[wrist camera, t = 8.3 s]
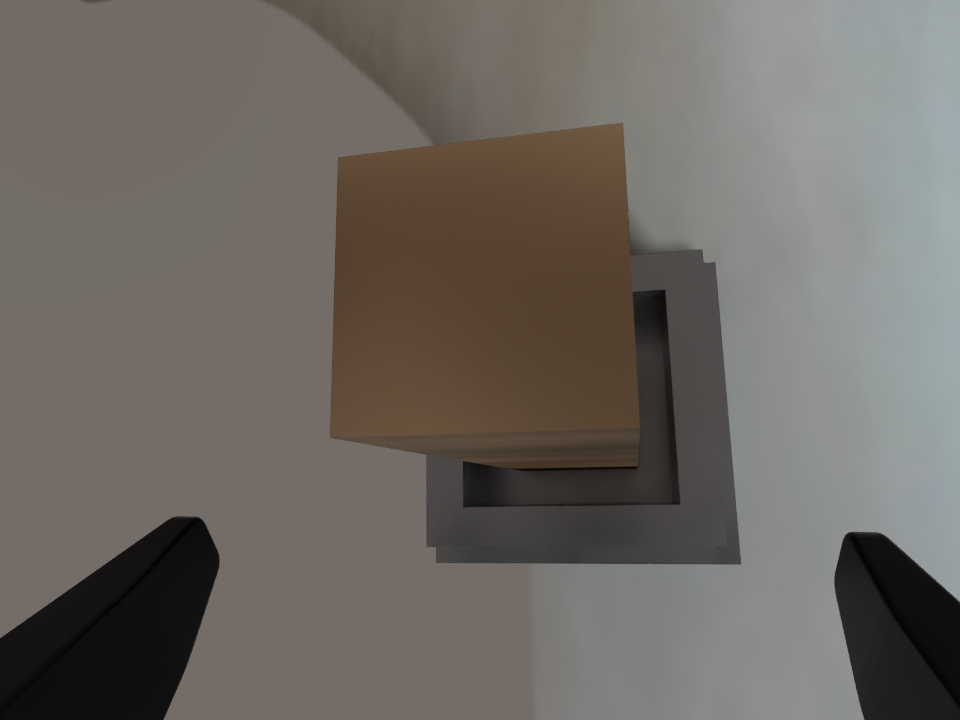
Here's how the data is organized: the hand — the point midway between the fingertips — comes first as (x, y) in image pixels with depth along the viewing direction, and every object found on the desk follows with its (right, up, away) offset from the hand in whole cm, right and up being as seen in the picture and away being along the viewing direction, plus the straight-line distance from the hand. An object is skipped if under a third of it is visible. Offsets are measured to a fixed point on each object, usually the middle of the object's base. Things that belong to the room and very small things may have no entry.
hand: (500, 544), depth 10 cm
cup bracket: (+3, +1, +13) cm, 13 cm away
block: (+3, +1, +12) cm, 12 cm away
